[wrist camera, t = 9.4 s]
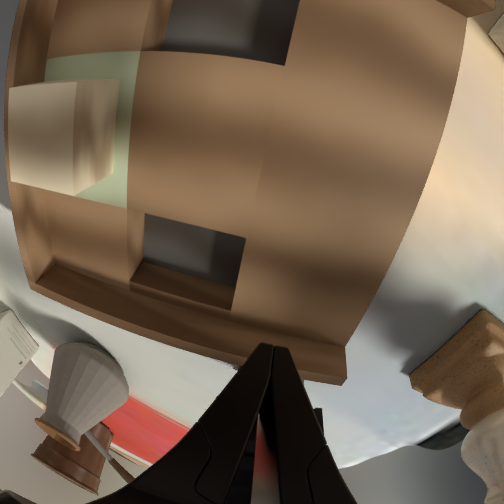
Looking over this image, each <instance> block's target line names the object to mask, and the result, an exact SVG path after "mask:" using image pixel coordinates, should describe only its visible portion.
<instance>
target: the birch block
mask: <svg viewBox="0 0 504 504" xmlns="http://www.w3.org/2000/svg"><path fill="white" fill-rule="evenodd" d="M120 81H121V79H75V80H58V81H48V82H41V83H35V84H28V85H23V86H17V87H12V88H9V102H8V147H9V164H10V176H11V181H12V182H17V183H21V184H25V185H29V186H34V187H38V188H42V189H46V190H50V191H55V192H59V193H63V194H67V195H71V196H75V195H77V194H78V193H80V192H81V191H83V190H85V189H86V188H88V187H90V186H91V185H93V184H95V183H97V182H98V181H100V180H102V179H104V178H105V177H107V176H109V175H111V174H112V173H113V157H114V139H115V126H116V115H117V105H118V96H119V88H120Z"/></svg>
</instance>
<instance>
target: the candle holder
mask: <svg viewBox="0 0 504 504" xmlns="http://www.w3.org/2000/svg"><path fill="white" fill-rule="evenodd" d="M409 378H410V382H411V386H412V389H414V390H416V391H419V392H421V393H423V396H424V397H425V398H427V399H428V400H430V401H433V402H436V403H439V404H442V405H445V406H449V407H453V408H456V409H462V411H461V414H460V422H461V424H462V426H464V427H465V428H467V429H469V430H470V431H469V433H468V434H467V435H466V437H465V438H464V440H463V443H462V445H461V456H462V458H463V460H464V462H465V463H466V464H467V466H468V467H469V468H470V469H472V470H473V471H474V472H475V473H477V474H478V475H479V476H480V477H481V478H482V479H483V480H484V482H485V483H486V485H487V488H488V489H487V495H486V498H485V500H484V504H504V324H503V323H502V322H501V321H499V320H498V319H497V318H496V317H494V316H493V315H492V314H491V313H489V312H488V311H486V310H485V309H482V310H480V311H479V312H478V313H477V314H475V315H474V316H473V317H472V318H471V319H470V320H469V321H468V322H467V323H466V324H465V325H464V326H463V327H462V328H461V329H460V330H459V331H458V332H457V333H456V334H455V335H454V336H453V337H452V338H451V339H450V340H448V341H447V342H446V343H445V344H444V345H443V346H442V347H441V348H440V349H438V350H437V351H436V352H435V353H434V354H433V355H432V356H430V357H429V358H428V359H427V360H426V361H425V362H423V363H422V364H421V365H420V366H419V367H417V368H416V369H415V370H414V371H413V372H412V373H411V374H410V375H409Z"/></svg>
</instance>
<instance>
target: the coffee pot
mask: <svg viewBox="0 0 504 504" xmlns="http://www.w3.org/2000/svg"><path fill="white" fill-rule="evenodd" d="M128 398H129V387H128V384H127V381H126V378H125V376H124V373H123V370H122V368H121V367H120V365H119V364H118V363H117V362H116V361H115V359H114V358H112V357H111V356H110V355H109V354H108V353H106V352H105V351H103V350H102V349H100V348H99V347H97V346H95V345H92V344H90V343H86V342H80V343H77V342H71V343H65V344H63V345H60V346H59V347H58V348H57V349H56V350H55V353H54V359H53V364H52V370H51V376H50V383H49V390H48V398H47V407H46V412H45V413H44V414H43V415H42V416H41V417H40V418H35V422H36V424H37V425H38V426H39V427H40V428H41V429H42V430H44V431H45V432H46V433H47V434H48V435H50V436H51V437H52V438H54V439H55V440H57V441H58V442H60V443H62V444H63V445H65V446H67V447H69V448H71V449H73V450H75V451H80V449H81V448H80V447H79V442H80V437H81V435H82V434H85V435H86V436H87V438H88V439H89V440H90V441H91V442H92V443H93V444H94V446H95V447H96V448H97V449H98V450H99V451H100V452H101V453H102V454H103V456H104V457H105V458H106V459H107V460H108V461H109V463H110V464H111V465H112V466H113V467H114V469H115V470H116V471H117V472H118V473H119V474H120V475H121V476H122V477H123V479H124V480H125V481H126V482H127V483H130V482H131V481H133V480H134V479H135V478H134V477H133V476H132V475H131V474H129V473H128V472H127V471H126V470H125V469H124V468H123V467H122V466H121V465H120V464H119V463H118V462H117V461H116V460H115V459H114V458H112V457H111V455H110V454H109V453H108V452H107V451H106V450H105V448H104V447H103V446H102V445H101V443H100V442H99V441H98V440H97V439H96V437H95V436H94V435H93V433H92V432H91V431H90V430H89V429H91V428H92V427H93V426H95V425H96V424H98V423H99V422H100V421H102V420H103V419H104V418H106V417H107V416H108V415H110V414H111V413H112V412H114V411H115V410H116V409H118V408H119V407H120V406H122V405H123V404H124V403H125V402H126V401H127V400H128Z"/></svg>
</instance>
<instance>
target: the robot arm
mask: <svg viewBox="0 0 504 504" xmlns="http://www.w3.org/2000/svg"><path fill="white" fill-rule="evenodd" d="M326 444H327V442H326V440H325V437H324V429H323V416H322V408H315V409H313V407H312V405H311V402H310V400H309V397H308V395H307V392H306V390H305V387H304V379H301V378H300V375H299V373H298V370H297V368H296V365H295V363H294V360H293V358H292V355H291V353H290V350H289V348H287V347H284V346H279V345H275V346H274V345H273V344H269V343H264V342H260V343H259V344H258V345H257V347H256V348H255V349H254V351H253V352H252V353H251V355H250V356H249V357H248V359H247V360H246V361H245V363H244V364H243V365H242V366H240V365H239V369H238V372H237V373H236V374H235V375H234V377H233V378H232V379H231V380H230V382H229V383H228V384H227V386H226V387H225V388H224V389H223V391H222V392H221V393H220V394H219V395H218V396H217V397H216V399H215V400H214V402H213V403H212V404H211V405H210V407H209V408H208V409H207V410H206V411H205V413H204V414H203V415H202V416H201V417H200V419H199V420H198V422H196V423H195V424H194V425H193V427H192V428H191V429H190V430H189V431H188V432H187V434H186V435H185V436H184V437H183V438H182V439H181V440H180V441H179V442H178V443H177V444H176V445H175V446H174V447H173V448H172V449H171V450H170V451H168V452H167V453H166V454H165V455H164V456H163V457H162V458H160V459H159V460H158V461H157V462H156V463H154V464H153V465H152V466H151V467H149V468H148V469H147V470H146V471H144V472H143V473H142V474H140V475H139V476H138V477H137V478H135V479H134V480H133V481H131V482H130V483H128V484H127V485H126V486H124V487H123V488H121V489H119V490H117V491H116V492H114V493H112V494H110V495H107V496H105V497H102V498H99V499H97V500H94V501H92V502H89V503H86V504H357V502H356V501H355V499H354V497H353V495H352V494H351V492H350V490H349V489H348V487H347V485H346V483H345V482H344V480H343V478H342V476H341V474H340V472H339V470H338V468H337V466H336V463H335V461H334V459H333V457H332V454H331V452H330V449H329V447H328V445H326ZM0 504H36V503H34V502H32V501H30V500H28V499H26V498H23V497H22V496H20V495H18V494H16V493H14V492H12V491H10V490H3V491H2V490H1V489H0Z"/></svg>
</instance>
